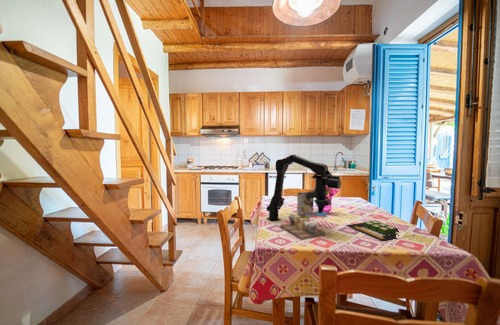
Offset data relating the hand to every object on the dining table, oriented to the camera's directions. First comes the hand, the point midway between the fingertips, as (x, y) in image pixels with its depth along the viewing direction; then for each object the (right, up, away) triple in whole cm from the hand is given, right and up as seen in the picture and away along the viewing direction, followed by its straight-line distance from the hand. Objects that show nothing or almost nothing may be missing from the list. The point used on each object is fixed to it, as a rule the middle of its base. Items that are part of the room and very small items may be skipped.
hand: (319, 213), depth 129 cm
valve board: (-10, -10, 0) cm, 14 cm away
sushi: (+35, -11, +2) cm, 36 cm away
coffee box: (-2, -8, +28) cm, 29 cm away
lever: (-5, 0, -2) cm, 5 cm away
